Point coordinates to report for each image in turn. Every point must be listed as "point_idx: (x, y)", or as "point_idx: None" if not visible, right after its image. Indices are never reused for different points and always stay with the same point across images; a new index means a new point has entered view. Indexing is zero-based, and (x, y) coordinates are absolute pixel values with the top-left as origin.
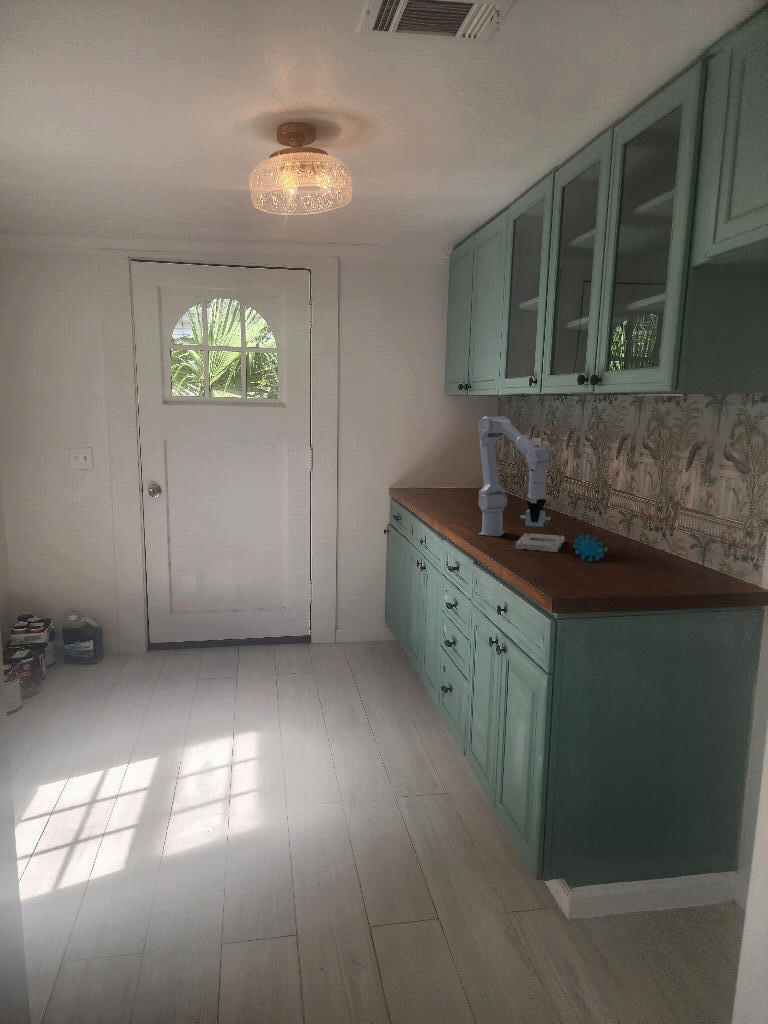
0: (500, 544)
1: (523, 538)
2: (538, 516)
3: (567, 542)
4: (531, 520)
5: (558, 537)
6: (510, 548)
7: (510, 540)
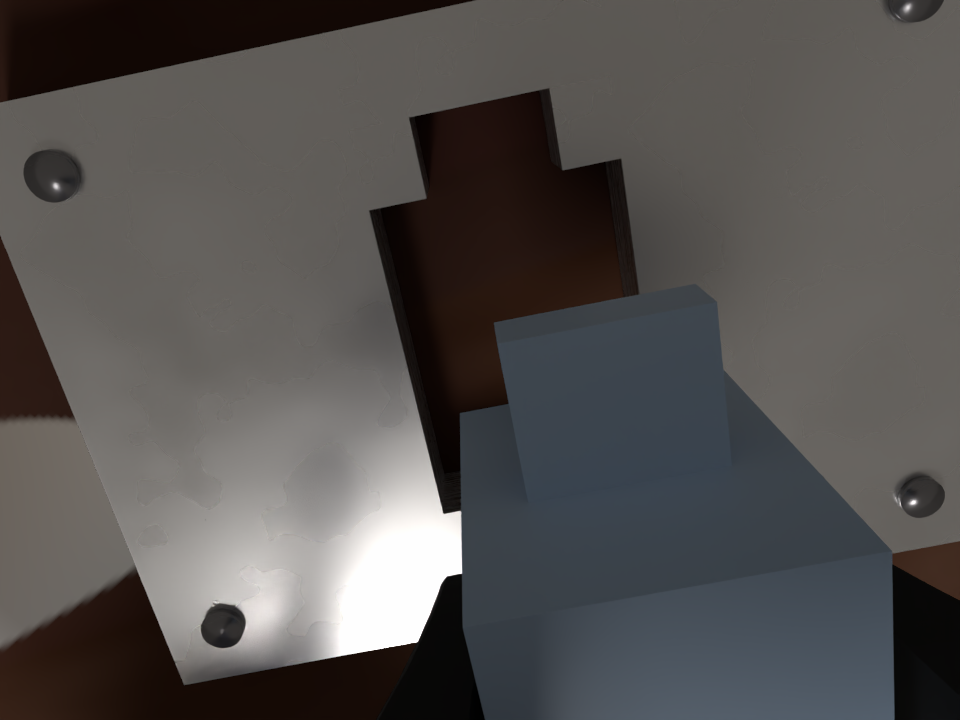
0: None
1: None
2: (912, 579)
3: (37, 32)
4: None
5: (165, 158)
6: (925, 548)
7: None
